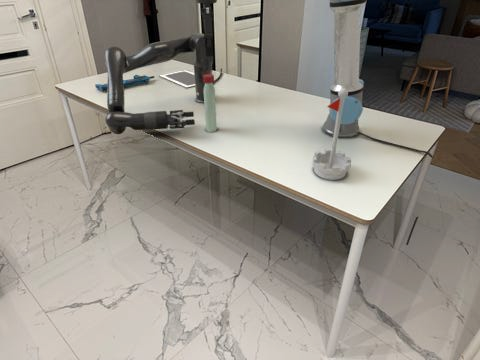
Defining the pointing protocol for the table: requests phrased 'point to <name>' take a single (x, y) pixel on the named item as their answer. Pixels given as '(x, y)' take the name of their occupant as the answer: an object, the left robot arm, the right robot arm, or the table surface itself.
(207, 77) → the cap
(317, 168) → the flag stand
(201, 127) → the table surface
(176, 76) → the tablet
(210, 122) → the bottle
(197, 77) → the left robot arm
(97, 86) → the submachine gun
